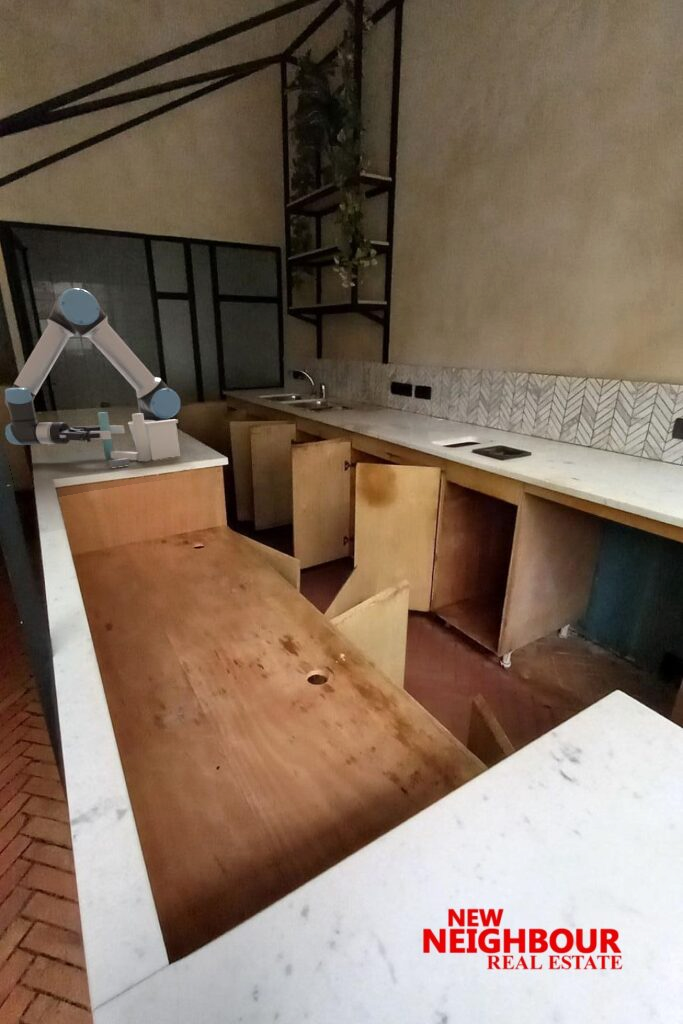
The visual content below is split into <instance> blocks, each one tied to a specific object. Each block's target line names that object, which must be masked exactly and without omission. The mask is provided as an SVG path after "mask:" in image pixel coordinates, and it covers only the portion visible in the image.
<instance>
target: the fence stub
mask: <svg viewBox="0 0 683 1024" xmlns="http://www.w3.org/2000/svg"><path fill="white" fill-rule="evenodd" d="M178 423H179V419H175V418H174V419H169V420H163V421H154V422H145V426H146V431H147V438H148V445H149V457H150V460H151V459H158V458H166V459H168V458H167V457H172V458H176V457H175V456H178V457H181V452H180V451H181V450H180V444H179V435H178V427H177V424H178Z"/></svg>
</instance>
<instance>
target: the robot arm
mask: <svg viewBox="0 0 683 1024" xmlns="http://www.w3.org/2000/svg"><path fill="white" fill-rule="evenodd" d="M46 321H47V326H46V327H45V330H44V331H43V333H42V335H41V337H40V338H39V340H38V341H37V343H36V345H35V347H34V349H33V350H32V351H31V354H30V355H29V357H28V358H27V361H26V362H25V363H24V365H23V367H22V369H21V371H20V373H19V374H18V375H17V378H16V379H15V381H14V382H13V385H12V387H8V388H6V389H5V390H4V395H5V397H4V404H5V406H6V407H7V408H8V412H9V416H10V421H11V423H8V424H7V425H6V426H5V432H4V434H5V437H6V440H7V441H8V442H9V443H10V444H12V445H21V446H27V445H28V446H32V445H47V446H49V447H50V446H51V445H55V444H56V445H65V444H66V445H67V444H68V443H70V441H79V442H80V441H82V442H85V441H86V442H87V443H91V442H92V440H102V439H111V436H112V434H125V433H126V430H125V425H110V430H111V433H110V431H100V425H89V426H80V425H79V426H71V427H70V426H69V425H68V423H66V422H63V421H62V422H61V421H59V422H58V421H57V422H51V421H50V422H49V421H47V422H38V421H37V417H36V412H35V408H34V407H35V406H34V403H33V402H34V400H35V397H36V396H37V394H38V393H39V391H40V389H41V387H42V385H43V384H44V381H45V380H46V379H47V377H48V375H49V374H50V371H51V370H52V368H53V366H54V365H55V363H56V361H57V360H58V358H59V356H60V354H61V353H62V351H63V349H65V346H66V344H67V342H68V341H69V339H70V338H71V337H74V336H75V335H76V333H78V334H79V335H80V336H81V337H82V338H87V339H89V340H90V341H91V342H92V344H94V346H95V347H96V348H97V349H98V350H99V351H100V352H101V353H102V354H103V355H104V356H105V357H106V359H107V360H108V361H109V362H110V363H111V365H113V366H114V368H115V369H117V371H118V372H119V373H120V374H121V375H122V376H123V377H124V378H125V379H126V381H127V382H128V383H129V384H130V385H131V387H132V388H133V389H134V390H135V395H136V398H137V399H136V400H137V407H138V413H143V416H144V420H154V421H163V420H170V418H173V417H174V416H176V415H177V414H178V413H179V411H180V408H181V397H180V396H179V395H178V393H177V392H176V391H174V390H173V389H172V388H169V387H168V385H167V384H166V383H165V382H164V381H163V379H162V378H161V377H157V376H154V375H153V374H152V373H151V372H150V370H149V369H148V368H147V367H146V366H145V364H144V363H143V362H142V361H141V360H140V359H139V358H138V356H137V355H136V354H135V353H134V352H133V351H132V349H131V348H130V347H129V346H128V345H127V344H126V342H125V341H124V340H123V339H122V338H121V337H120V335H118V333H117V332H116V331H115V330H114V328H112V327H111V326H110V324H109V323H108V321H109V320H108V316H107V314H106V313H105V312H104V311H103V309H102V308H101V306H100V304H99V302H98V301H97V299H96V297H95V296H94V295H93V294H92V293H90V292H89V291H87V290H85V289H83V288H78V287H73V288H69V289H66V290H64V291H63V292H62V293H60V294H59V295H58V296H57V297H56V299H55V302H54V305H53V307H52V310H51V312H50V314H49V316H48V318H47V319H46Z"/></svg>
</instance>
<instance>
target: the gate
mask: <svg viewBox="0 0 683 1024" xmlns="http://www.w3.org/2000/svg"><path fill="white" fill-rule="evenodd" d="M131 417H132V421H133V426H134V432H135V439H136V445H137V448H136V451H123V450H115V449H114V443H113V436H112V435H111V439H101V441H102V447H103V448H102V449H103V453H104V457H105V458H104V459H105V460H115V459H122V458H129V460H130V461H131V460H132V461H138V462H140V461H145V462H149V461H151V459H150V452H149V450H148V443H147V436H146V430H145V423H144V416H143V413H139V412H137V413H132V414H131ZM97 418H98V424H99V425H100V431H110V433H111V430H110V426H111V424H110V419H109V414H108V411H101V412H97ZM99 425H98V426H99ZM136 445H135V446H136ZM148 460H149V461H148Z"/></svg>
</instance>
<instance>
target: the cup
mask: <svg viewBox="0 0 683 1024" xmlns="http://www.w3.org/2000/svg"><path fill="white" fill-rule="evenodd" d="M145 422H154V420H144V423H145ZM127 425H128V427H129V430H130V433H131V436H132V439H133V441H134V445H135V449H137V445H136V439H135V432H134V426H133V420H132V421H129V422H127ZM145 430H146V426H145ZM146 436H147V431H146ZM147 443H148V438H147ZM148 450H149V445H148Z"/></svg>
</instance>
